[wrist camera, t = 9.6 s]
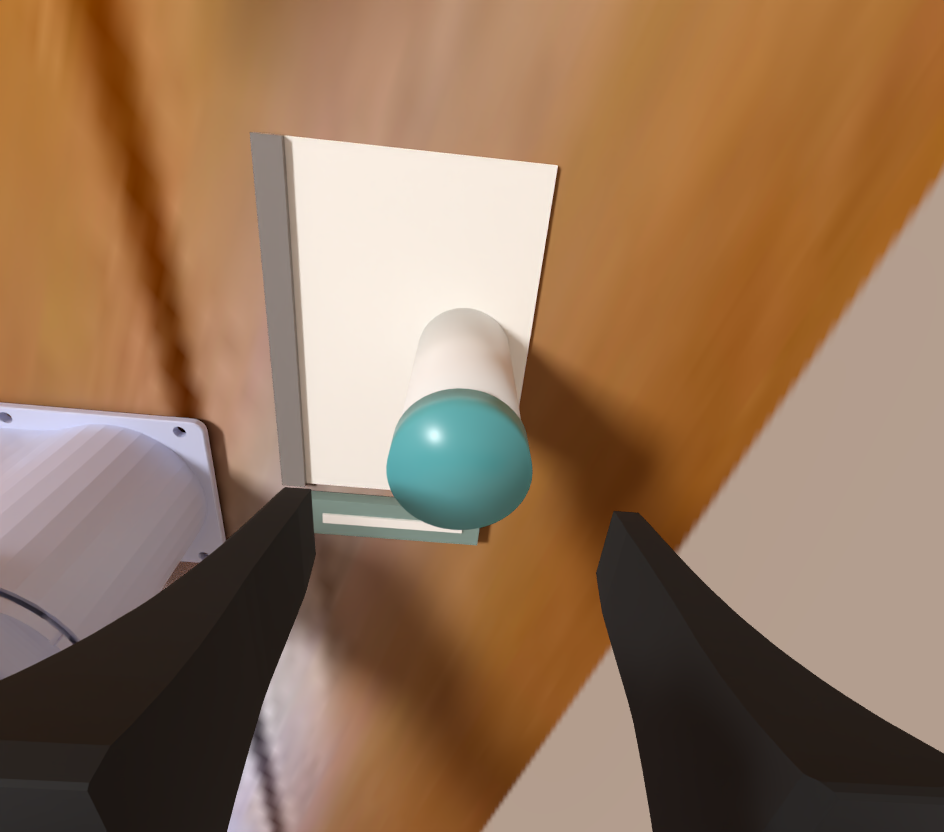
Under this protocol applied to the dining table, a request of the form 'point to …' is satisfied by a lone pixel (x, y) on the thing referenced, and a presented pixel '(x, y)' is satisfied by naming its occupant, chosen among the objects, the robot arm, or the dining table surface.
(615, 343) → the dining table surface
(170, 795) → the robot arm
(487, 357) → the white teal cylinder
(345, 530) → the green striped bar
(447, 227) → the white rectangular slab
